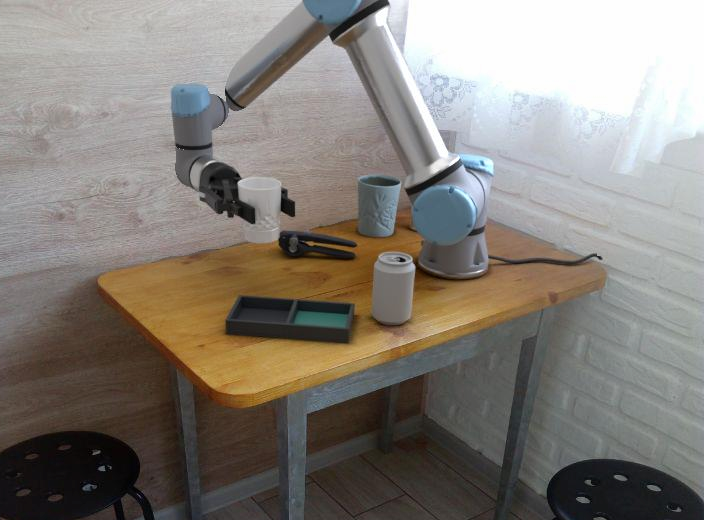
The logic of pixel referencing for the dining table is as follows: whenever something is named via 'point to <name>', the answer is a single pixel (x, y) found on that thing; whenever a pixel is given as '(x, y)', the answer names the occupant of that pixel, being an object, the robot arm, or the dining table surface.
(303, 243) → the can opener
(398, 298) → the can
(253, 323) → the divided tray
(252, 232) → the white cup
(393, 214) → the embossed blue cup
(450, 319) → the dining table surface
